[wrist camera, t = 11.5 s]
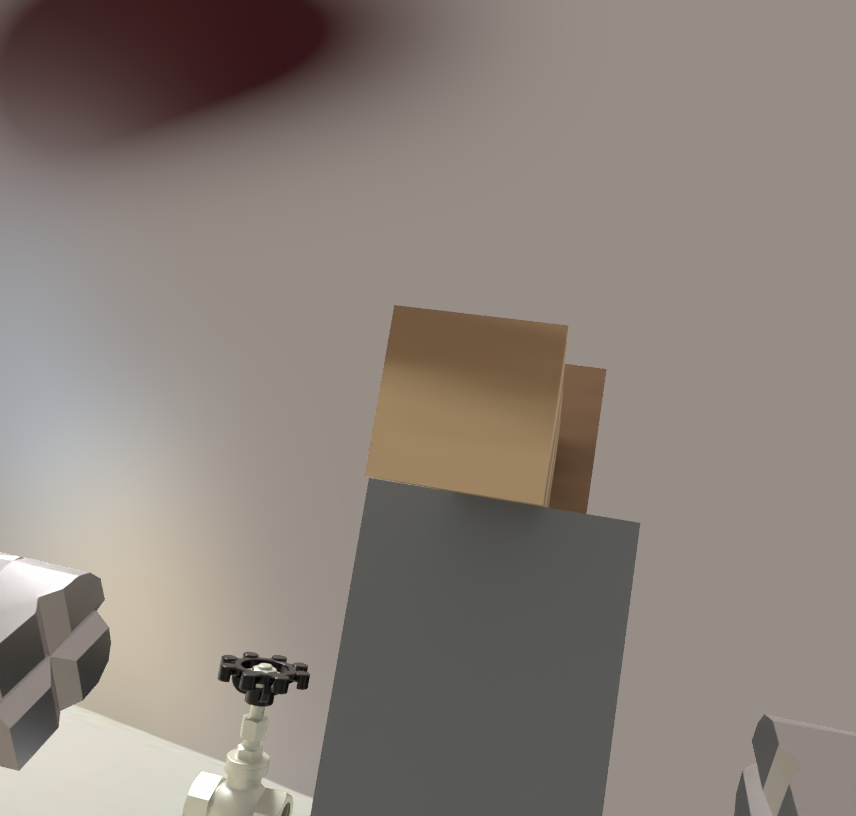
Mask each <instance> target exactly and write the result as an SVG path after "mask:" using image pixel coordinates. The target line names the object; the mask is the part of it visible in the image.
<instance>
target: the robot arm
mask: <svg viewBox="0 0 856 816" xmlns="http://www.w3.org/2000/svg"><path fill="white" fill-rule="evenodd" d="M104 599H105V598H104V594H103V589H102V584H101V579H100V578H98V577H97V576H95V575H93V574H92V573H89V572H85V571H81V570H77V569H73V568H68V567H64V566H60V565H56V564H52V563H47V562H43V561H39V560H35V559H31V558H22V557H19V556H14V555H10V554H6V553H2V552H0V766H1V767H6V768H10V769H14V770H18V771H19V770H20V769H21V768H22V767H23V766H24V765H25V764H26V763H27V762H28V760H29V759H30V758H31V757H32V756H33V755H34V754H35V753H36V752H37V751H38V749H39V748H40V747H41V746H42V745H43V744H44V743H45V742H46V741H47V740H48V738H49V737H50V736H51V735H52V734H53V733H54V732H55V731H56V730H57V729H58V727H59V717H60V711H61V710H63V709H65V708H68V707H70V706H72V705H74V704H76V703H78V702H80V701H82V700H84V699H85V697H86V696H87V695H88V694H89V692H91V690H92V689H93V688H94V687H95V686H96V684H97V683H98V682H99V680H100V677H101V675H102V673H103V671H104V669H105V667H106V665H107V663H108V660H109V653H110V646H111V640H110V632H109V627H108V626H107V624H106V623H105V622H104V620H103V619H102V618H101V616H100V615H99V614H98V612H97V610H98V608H99V607H100V606H101V604H102V603H103V601H104ZM752 743H753V748H754V752H755V757H756V763H754V764H753V765H751V766H749V767H748V768H746V769H744V770H743V771H742V774H741V778H740V782H739V785H738V790H737V793H736V803H735V814H734V816H856V733H853V732H849V731H843V730H839V729H834V728H829V727H824V726H819V725H815V724H810V723H805V722H800V721H795V720H790V719H785V718H780V717H775V716H770V715H764V716H763V717H762V718H761V720H760V721H759V722H758V724H757V727H756V730H755V733H754V736H753V739H752Z"/></svg>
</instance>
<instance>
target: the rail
mask: <svg viewBox="0 0 856 816" xmlns="http://www.w3.org/2000/svg"><path fill="white" fill-rule="evenodd" d="M567 332H568V326H566V325H558V324H549V323H541V322H532V321H523V320H515V319H507V318H498V317H489V316H481V315H473V314H464V313H456V312H447V311H438V310H430V309H422V308H413V307H405V306H396V305H395V306H394V311H393V317H392V322H391V328H390V334H389V339H388V345H387V351H386V357H385V363H384V368H383V374H382V380H381V385H380V391H379V397H378V403H377V408H376V414H375V420H374V426H373V431H372V437H371V443H370V448H369V454H368V460H367V466H366V471H365V476H369V477H374V478H380V479H385V480H391V481H396V482H401V483H407V484H412V485H418V486H423V487H428V488H434V489H439V490H444V491H450V492H456V493H462V494H468V495H474V496H480V497H486V498H492V499H498V500H504V501H510V502H516V503H522V504H528V505H534V506H540V507H546V508H552V509H558V510H564V511H570V512H576V513H582V514H586V512H587V505H588V498H589V491H590V483H591V476H592V469H593V462H594V455H595V447H596V440H597V433H598V425H599V418H600V412H601V404H602V397H603V390H604V383H605V375H606V369H600V368H592V367H584V366H577V365H569V364H565V357H566V344H567Z"/></svg>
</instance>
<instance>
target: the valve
mask: <svg viewBox="0 0 856 816" xmlns="http://www.w3.org/2000/svg"><path fill="white" fill-rule="evenodd" d="M258 656H259V655H258V654H257V653H253V652H245V653H244V654H243V658H242V659H239V658H237V657H235V656H232V655H224V656H222V658H221V664H220V668H219V673H218V680H220V681H223V682H229V679H230V675H232V682H233V685H234V687H235V688H236V690H238V691H239V692H241V693H243V694H246V696H245V701H246V703H248V704H250V705H251V708H250V713H249V714H246V715H243V719H242V725H241V730H240V736H241V739H243V743H240V744H238V746H237V749H234V750H232V751H230V752H229V753H228V754H227V758H226V763H225V768H224V770H225V772H226V773H227V774H228V779H227V780H226V779H225V778H223V777H222V776H218V775H214V774H210V773H206V772H201V774H200V775H199V776H198V777H197V778H196V779H195V781H194V782H193V784H192V786H191V788H190V790H189V792H188V795H187V798H186V801H185V804H184V809H183V816H291V814H292V807H293V798H292V796H291V795H289V794H288V793H285V792H281V791H277V790H273V789H269V788H265V787H264V786H263V785H262V784H261V779H262V778H263V777H265V776H266V775H267V773H268V767H269V762H270V758H269V756H268V755H267V754H266V753H264V752H263V747H262V746H261V745H260V741H261V740H265V737H266V732H267V727H268V718H267V717H266V716H265V715H264V710H265V707H266V706H270V705H272V704H273V700H274V695H278V694H286V693H287V691H288V686H289V684H290V683H292V682H294V681H295V682H298V684H297V689H300V690H304V689H307V688H308V683H309V678H310V674H309V673H308V672H307V670H308V666H307V665H306V664H304V663H294V664H288V663H286V661H287V658H286V657H284V656H280V655H274V656H272V658H271V659H268V658H260V657H258ZM247 668H253V669H252V671H251V670H248V669H247ZM277 671H278V672H280V674H277Z"/></svg>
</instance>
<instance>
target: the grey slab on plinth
mask: <svg viewBox="0 0 856 816" xmlns="http://www.w3.org/2000/svg"><path fill="white" fill-rule="evenodd" d="M639 528H640V523H637V522H631V521H625V520H618V519H612V518H607V517H601V516H594V515H588V514H582V513H576V512H570V511H564V510H558V509H552V508H546V507H540V506H534V505H528V504H522V503H516V502H510V501H504V500H498V499H492V498H486V497H480V496H474V495H468V494H462V493H456V492H450V491H444V490H438V489H432V488H426V487H420V486H414V485H407V484H401V483H395V482H389V481H383V480H377V479H371V478H369V482H368V487H367V493H366V499H365V505H364V510H363V516H362V523H361V528H360V534H359V539H358V545H357V551H356V557H355V562H354V568H353V574H352V580H351V585H350V591H349V597H348V603H347V609H346V614H345V620H344V626H343V632H342V637H341V643H340V649H339V654H338V660H337V666H336V672H335V677H334V683H333V689H332V695H331V700H330V707H329V712H328V718H327V724H326V730H325V735H324V741H323V747H322V752H321V759H320V764H319V770H318V775H317V781H316V787H315V793H314V798H313V804H312V810H311V816H602V812H603V804H604V797H605V789H606V781H607V774H608V766H609V758H610V751H611V743H612V735H613V728H614V720H615V712H616V705H617V696H618V689H619V681H620V673H621V666H622V659H623V651H624V643H625V636H626V628H627V620H628V613H629V605H630V597H631V589H632V582H633V574H634V566H635V558H636V551H637V544H638V536H639Z"/></svg>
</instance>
